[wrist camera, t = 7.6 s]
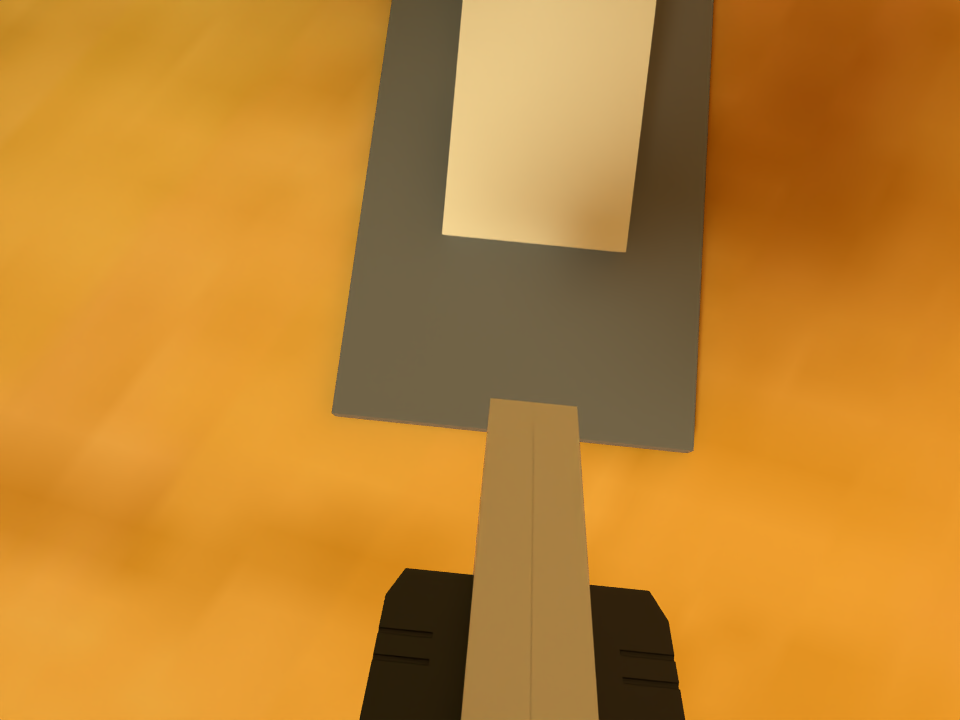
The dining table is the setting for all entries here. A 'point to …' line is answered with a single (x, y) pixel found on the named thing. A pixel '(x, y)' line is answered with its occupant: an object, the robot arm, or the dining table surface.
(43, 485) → the dining table surface
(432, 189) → the mat
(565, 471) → the robot arm
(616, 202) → the domino
